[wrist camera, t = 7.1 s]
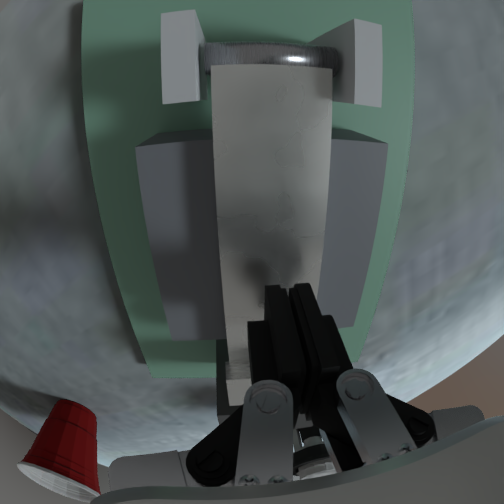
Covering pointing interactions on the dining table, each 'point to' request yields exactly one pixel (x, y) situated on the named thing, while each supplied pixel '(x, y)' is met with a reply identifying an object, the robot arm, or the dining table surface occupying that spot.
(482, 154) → the dining table surface
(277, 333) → the robot arm
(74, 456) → the plastic cup
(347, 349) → the board
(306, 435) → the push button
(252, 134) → the retention strap
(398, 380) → the dining table surface
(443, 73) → the dining table surface
